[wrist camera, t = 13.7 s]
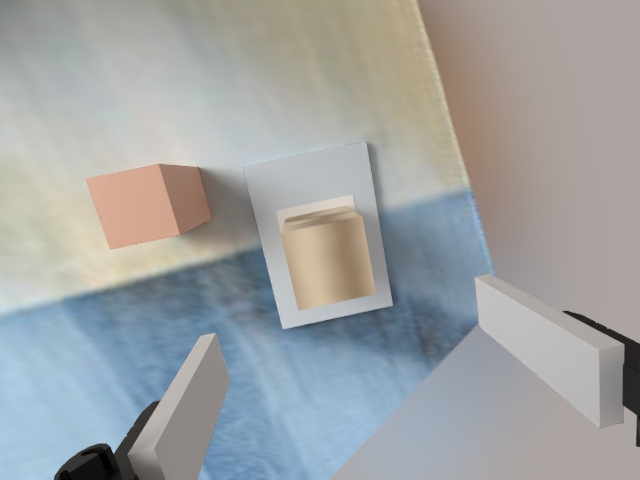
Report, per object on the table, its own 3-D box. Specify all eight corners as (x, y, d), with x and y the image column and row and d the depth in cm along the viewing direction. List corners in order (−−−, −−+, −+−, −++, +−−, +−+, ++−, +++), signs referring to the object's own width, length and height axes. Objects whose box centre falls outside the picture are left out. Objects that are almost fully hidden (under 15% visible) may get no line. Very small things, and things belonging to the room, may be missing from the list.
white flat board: (283, 325, 40) (282, 329, 38) (243, 166, 35) (242, 166, 34) (390, 302, 40) (393, 305, 39) (364, 142, 36) (366, 141, 34)
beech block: (299, 275, 37) (298, 310, 27) (285, 218, 36) (280, 234, 26) (356, 262, 37) (376, 293, 27) (345, 205, 36) (362, 216, 26)
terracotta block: (161, 229, 36) (110, 249, 26) (145, 177, 35) (85, 179, 25) (212, 218, 36) (180, 234, 27) (198, 167, 35) (158, 164, 25)
